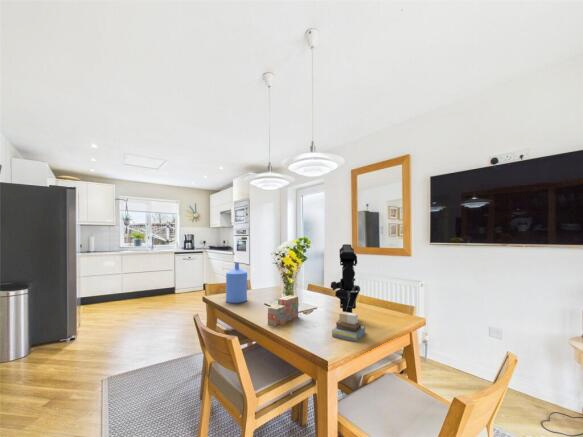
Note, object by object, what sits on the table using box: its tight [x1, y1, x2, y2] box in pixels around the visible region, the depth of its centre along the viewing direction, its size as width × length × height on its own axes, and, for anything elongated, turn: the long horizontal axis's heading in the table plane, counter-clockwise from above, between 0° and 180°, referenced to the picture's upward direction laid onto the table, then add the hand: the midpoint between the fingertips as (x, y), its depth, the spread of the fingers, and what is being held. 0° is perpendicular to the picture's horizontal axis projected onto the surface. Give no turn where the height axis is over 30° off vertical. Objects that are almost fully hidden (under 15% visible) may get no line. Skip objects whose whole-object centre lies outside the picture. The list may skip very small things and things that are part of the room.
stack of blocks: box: [267, 294, 299, 327], centre depth 153 cm, size 21×6×12 cm, turn 145°
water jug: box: [225, 262, 248, 304], centre depth 199 cm, size 16×16×28 cm
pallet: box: [335, 320, 362, 332], centre depth 131 cm, size 7×10×3 cm
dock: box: [331, 325, 366, 342], centre depth 130 cm, size 13×12×3 cm
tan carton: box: [338, 311, 349, 323], centre depth 132 cm, size 4×4×4 cm
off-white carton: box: [347, 312, 359, 324], centre depth 130 cm, size 4×4×4 cm
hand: (348, 308), depth 131 cm, fingers open, 9 cm apart
